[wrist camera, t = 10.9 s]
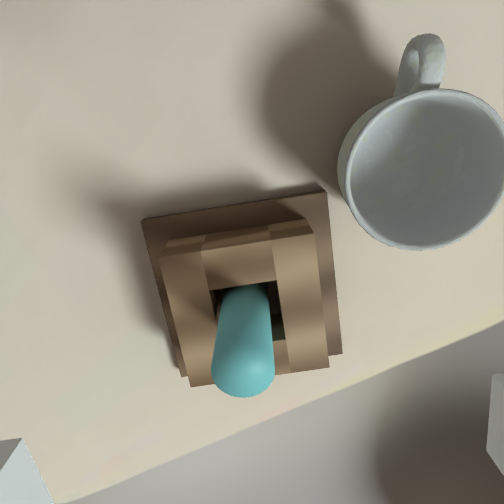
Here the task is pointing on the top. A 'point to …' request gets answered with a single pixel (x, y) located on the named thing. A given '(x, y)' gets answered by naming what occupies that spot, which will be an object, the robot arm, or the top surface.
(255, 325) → the peg
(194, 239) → the socket
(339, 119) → the top surface
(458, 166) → the teacup
